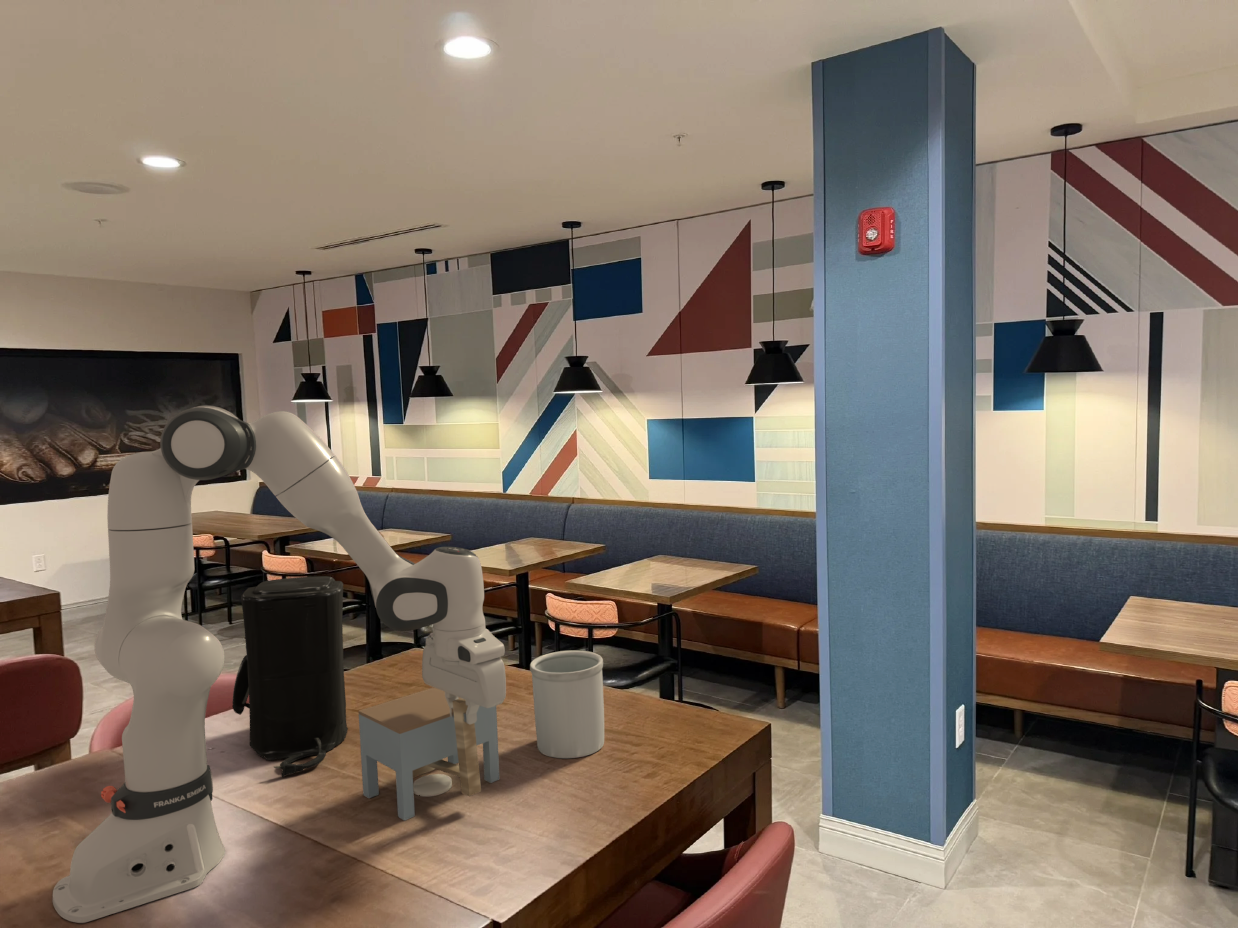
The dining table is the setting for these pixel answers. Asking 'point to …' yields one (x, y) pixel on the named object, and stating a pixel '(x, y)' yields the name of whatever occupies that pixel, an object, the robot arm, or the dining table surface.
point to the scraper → (460, 754)
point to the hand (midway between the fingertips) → (463, 719)
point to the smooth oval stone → (432, 785)
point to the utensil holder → (568, 703)
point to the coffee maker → (293, 669)
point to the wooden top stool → (418, 741)
